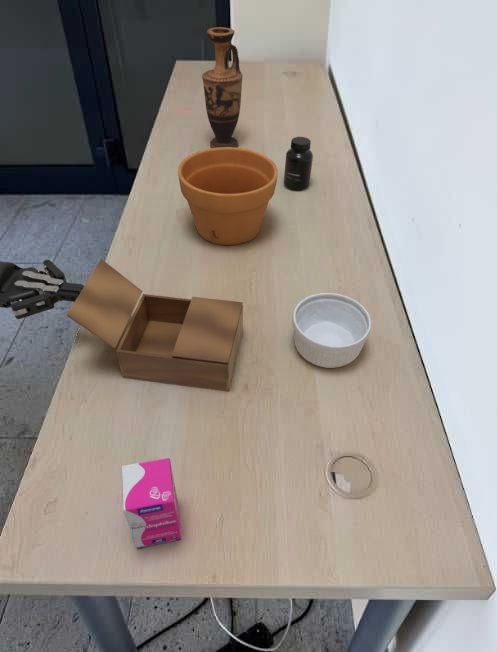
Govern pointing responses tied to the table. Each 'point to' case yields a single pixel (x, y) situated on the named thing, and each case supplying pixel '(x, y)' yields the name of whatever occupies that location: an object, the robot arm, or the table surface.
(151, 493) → the supplement box
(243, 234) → the flower pot
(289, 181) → the supplement bottle
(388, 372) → the table surface
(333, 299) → the ramekin
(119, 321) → the flap
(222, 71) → the vase
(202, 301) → the carton
